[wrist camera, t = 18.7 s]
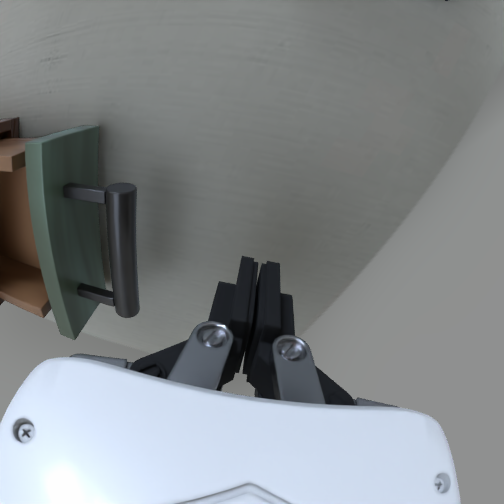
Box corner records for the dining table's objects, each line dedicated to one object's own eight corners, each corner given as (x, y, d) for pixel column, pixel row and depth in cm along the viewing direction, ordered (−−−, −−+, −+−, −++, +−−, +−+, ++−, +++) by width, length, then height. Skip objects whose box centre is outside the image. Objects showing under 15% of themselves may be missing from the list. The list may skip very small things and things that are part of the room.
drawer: (164, 129, 13) (117, 145, 9) (156, 306, 19) (132, 360, 14) (-19, 130, 12) (-64, 148, 8) (-1, 258, 18) (-33, 288, 14)
